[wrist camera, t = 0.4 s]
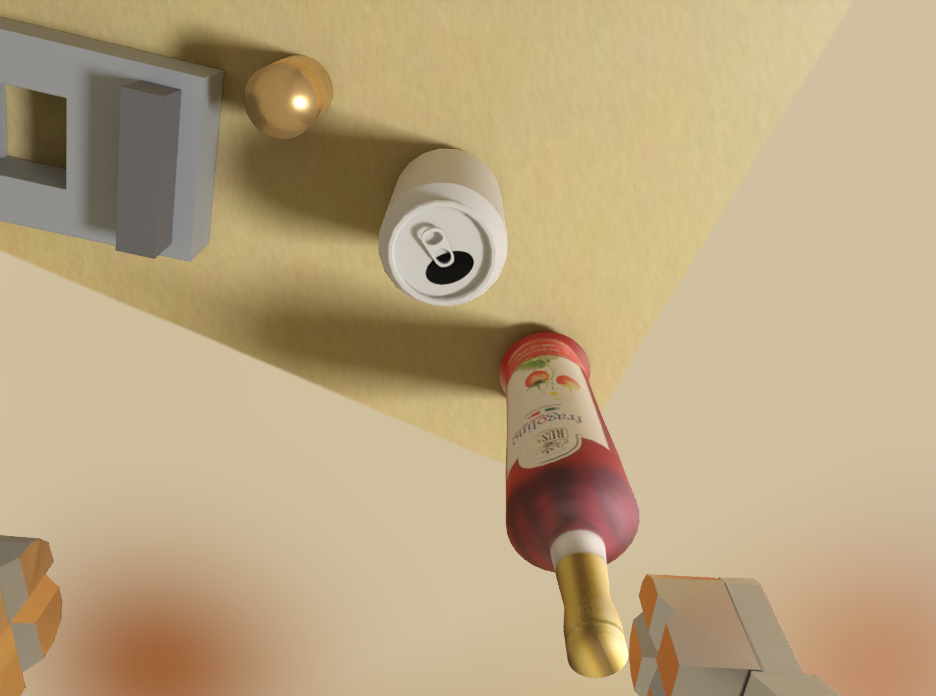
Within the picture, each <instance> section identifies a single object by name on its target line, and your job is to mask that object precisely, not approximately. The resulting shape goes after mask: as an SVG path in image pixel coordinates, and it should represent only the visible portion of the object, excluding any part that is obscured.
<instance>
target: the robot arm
mask: <svg viewBox="0 0 936 696" xmlns="http://www.w3.org/2000/svg"><path fill="white" fill-rule="evenodd" d="M53 562H54V561H53V557H52V553H51V550H50V546H49V543H48V542H46V541H44V540H42V539H39V538H27V537H14V536H3V535H0V696H20V695H21V694H22V692H23V691H24V689H25V688H26V686H25V682H24V677H23V672H24V671H25V670H27V669H28V668H30V667H32V666H33V665H35V664H36V663H38V662H39V661H41V660H42V659H43V658H44V657H45V655H46V654H47V652H48V650H49V649H50V647H51V645H52V644H53V642H54V640H55V637H56V634H57V630H58V627H59V624H60V621H61V614H62V599H61V593H60V588H59V586H58V585H56V584H55V583H54V582H53V581H52V580H51V579H50V578H49V577H48V576H47V575H46V572H47V571H48V569H49V568H50V566H51V565H52V564H53ZM639 598H640V602H641V606H642V610H643V612H642V613H641V614H640V615H639V616H637V617H636V618H635V619H634V620H633V624H632V629H631V634H630V648H629V662H630V671H631V677H632V682H633V687H634V691H635V692H636V693H637V694H638V695H639V696H842V695H840V694H839V693H838V692H837V691H835V690H834V689H833V688H831V687H830V686H829V685H828V684H826V683H825V682H824V681H823V680H821V679H820V678H819V677H818V676H816V675H807V674H806V675H805V674H804V672H803V670H802V667H801V666H800V663H799V661H798V659H797V658H796V655H795V653H794V651H793V649H792V647H791V645H790V643H789V641H788V639H787V637H786V635H785V633H784V631H783V629H782V627H781V625H780V623H779V621H778V619H777V616H776V615H775V613H774V610H773V608H772V606H771V604H770V602H769V600H768V598H767V596H766V594H765V592H764V590H763V588H762V586H761V584H760V583H759V582H757V581H756V580H755V579H744V578H721V577H720V578H709V577H690V576H671V575H652V574H650V575H649V574H647V575H646V576H645V578H644V580H643V582H642V585H641V589H640V593H639Z"/></svg>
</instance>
